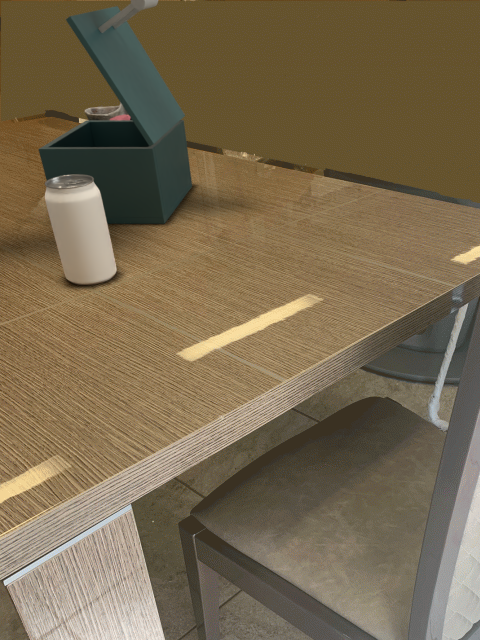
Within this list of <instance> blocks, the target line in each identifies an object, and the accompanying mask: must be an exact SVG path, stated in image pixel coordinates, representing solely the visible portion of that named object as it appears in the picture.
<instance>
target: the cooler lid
mask: <svg viewBox="0 0 480 640" xmlns="http://www.w3.org/2000/svg"><path fill="white" fill-rule="evenodd" d="M158 3H159V0H130V3H129V4H128V5H126V6H125V7H124V8H123V9H121V10H120V8H119V6H117V5H116V6H111V7H106V8H103V9H98V10H97V9H96V10H92V11H88V12H82V13H79V14H74V15H70V16H68V17H67V18H65V21H66V23H67V24H68V26H69V27H70V29H71V30H72V32H73V33H74V35H75V36H76V38H77V39H78V41H79V42H80V44H81V45H82V47H83V48H84V50H85V51H86V53H87V54H88V56H89V57H90V58H91V60H92V62H93V63H94V65H95V66H96V68H97V69H98V71H99V72H100V73H101V75H102V77H103V78H104V80H105V81H106V83H107V84H108V86H109V88H110V90H112V92H113V94H114V95H115V97H116V98H117V99H118V101H119V103H120V102H121V104H122V105H123V107H124V108H125V110H126V111H127V113H128V115H129V116H130V117H131V119H132V120H133V122H134V123H135V125H136V126H137V128H138V129H139V131H140V132H141V134H142V136H143V137H144V139H145V140H146V142H147V143H148V145H149V146H152V145H153V144H155V143H156V142H157V141H158V140H159V139H160V138H161V137H162V136H163V135H164V134H166V133H167V132H168V131H169V130H170V129H171V128H172V127H173V126H174V125H175V124H177V123H178V122H179V121H180V120H183V119H184V118H185V116H186V114H185V113H184V111H183V110H182V108H181V106H180V105H179V103H178V102H177V100H176V98H175V96H174V95H173V94H172V92H171V90H170V88H169V87H168V85H167V84H166V82H165V80H164V79H163V77H162V75H161V74H160V73H159V71H158V69H157V67H156V66H155V64H154V63H153V61H152V59H151V58H150V56H149V55H148V53H147V52H146V50H145V48H144V47H143V45H142V43H141V42H140V40H139V38H138V37H137V35H136V34H135V32H134V31H133V29H132V27H131V26H130V24H129V22H128V21H129V20H131V19H132V17H134V16H136V15H137V14H138V13H140V12H141V11H144V10H147V9H152V8H155V7H156V6H157V5H158Z"/></svg>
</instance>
